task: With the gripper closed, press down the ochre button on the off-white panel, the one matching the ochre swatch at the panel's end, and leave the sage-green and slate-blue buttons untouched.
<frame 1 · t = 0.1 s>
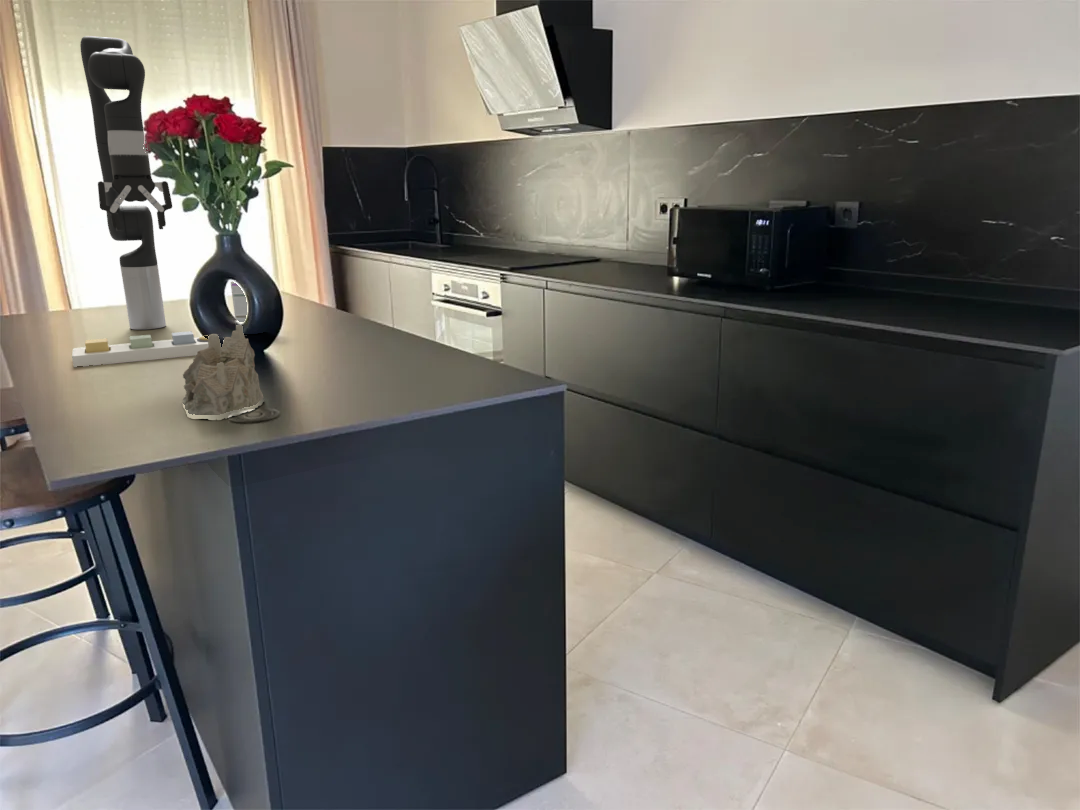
hand: (139, 229, 172), 29 cm above the countertop, tool pointing down, fingers open, 8 cm apart
slate button: (183, 339, 184), point 3 cm above the countertop, slide at 0.0 cm
ceramic cottage: (217, 408, 140), on the countertop
syrup box: (251, 334, 209), on the countertop
button panel: (152, 355, 182), on the countertop
ochre button: (97, 347, 176), point 3 cm above the countertop, slide at 0.0 cm
sage button: (141, 343, 180), point 3 cm above the countertop, slide at 0.0 cm
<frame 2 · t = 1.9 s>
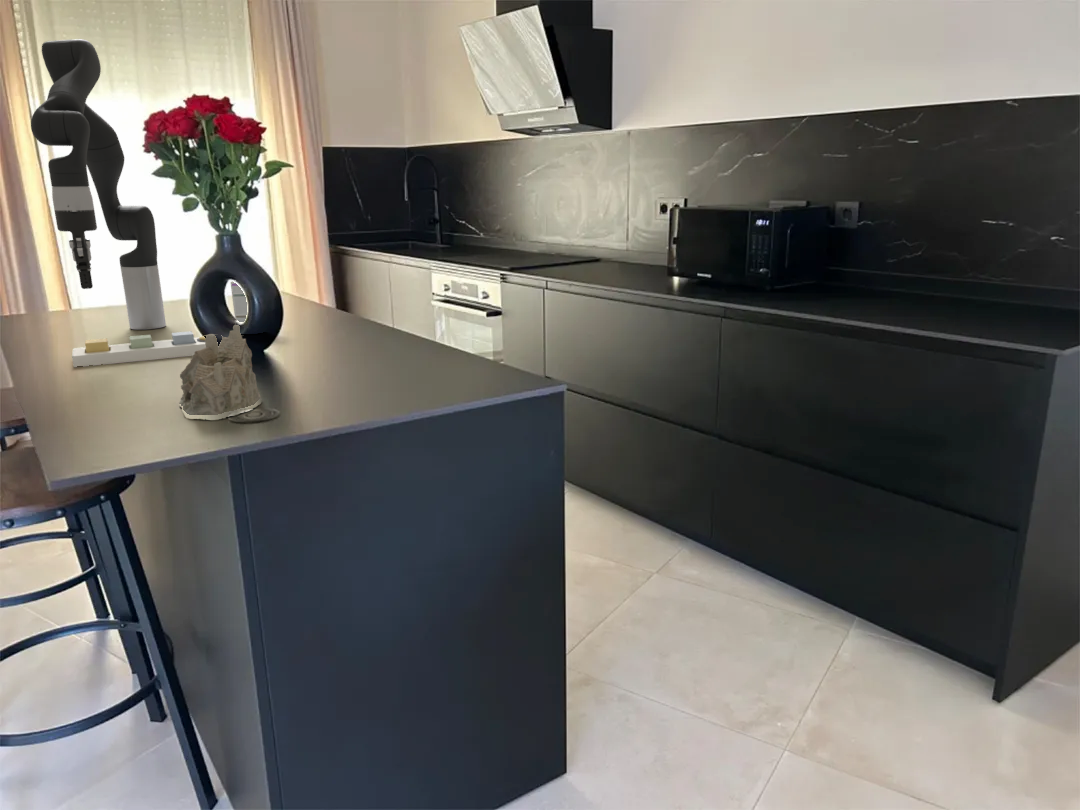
hand: (87, 288, 172), 17 cm above the countertop, tool pointing down, fingers closed
nothing on the countertop moved.
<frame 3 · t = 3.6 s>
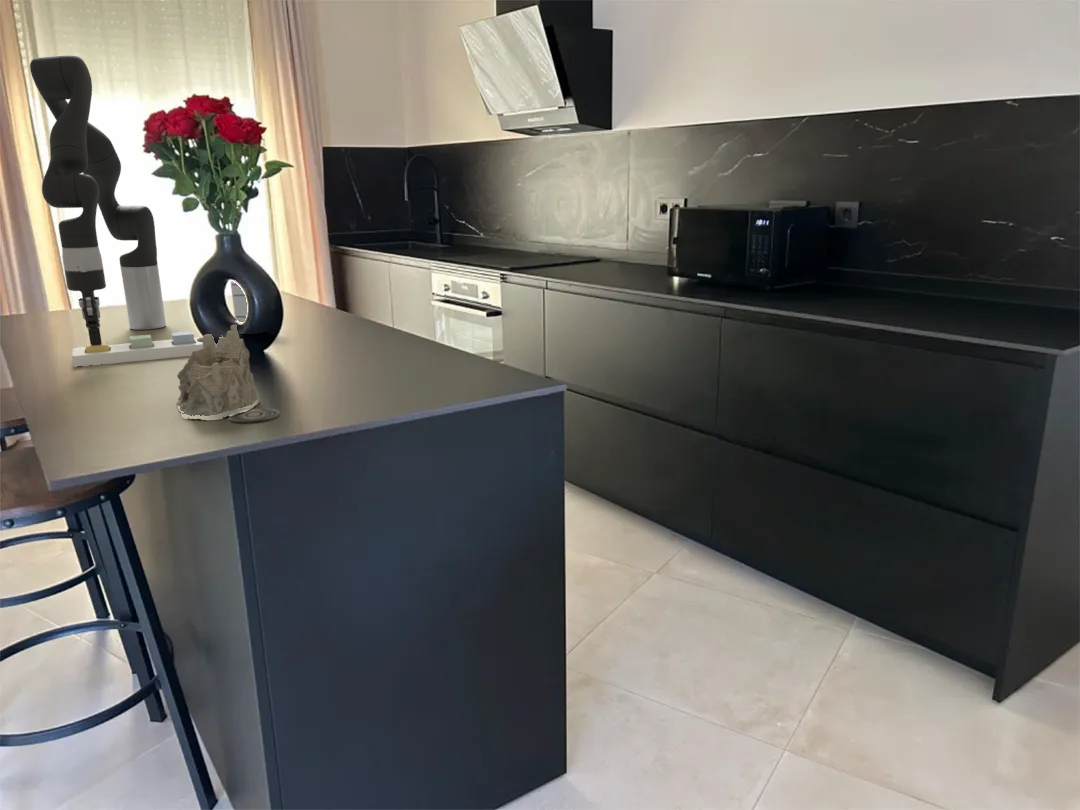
hand: (96, 344, 176), 4 cm above the countertop, tool pointing down, fingers closed
ochre button: (98, 350, 176), point 2 cm above the countertop, slide at 0.8 cm, touching gripper
everything else where it was.
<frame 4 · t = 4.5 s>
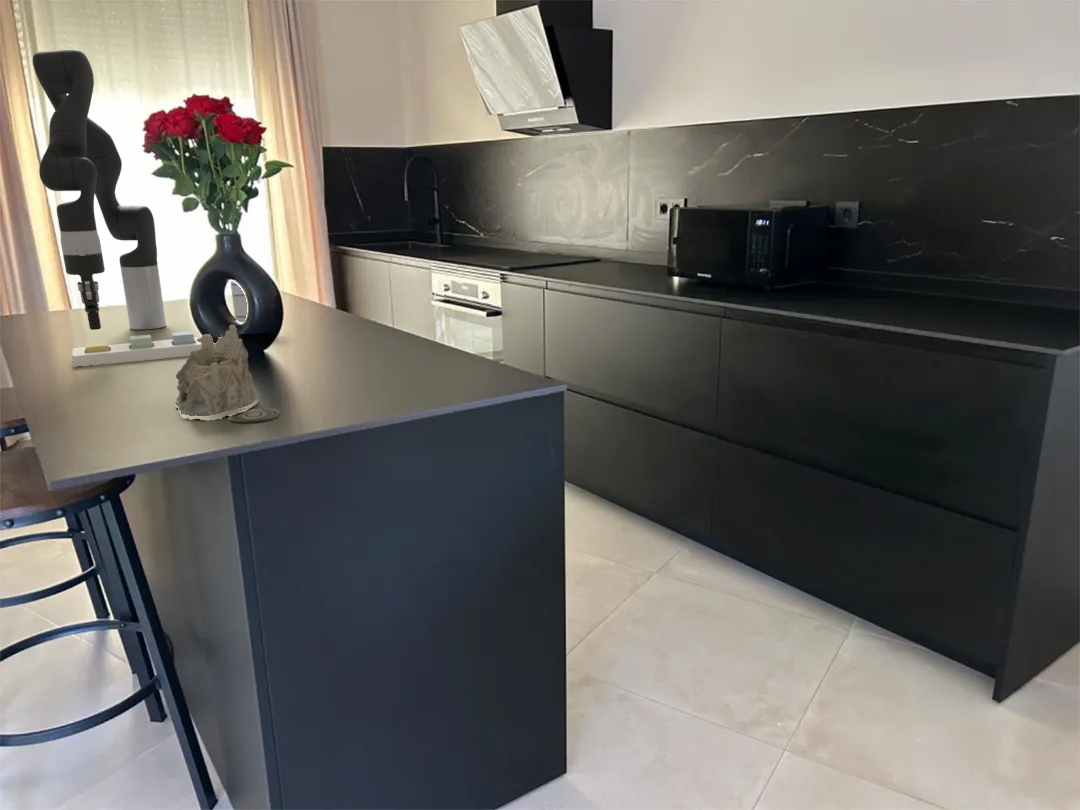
hand: (95, 328, 175), 7 cm above the countertop, tool pointing down, fingers closed
ochre button: (98, 351, 176), point 2 cm above the countertop, slide at 0.9 cm
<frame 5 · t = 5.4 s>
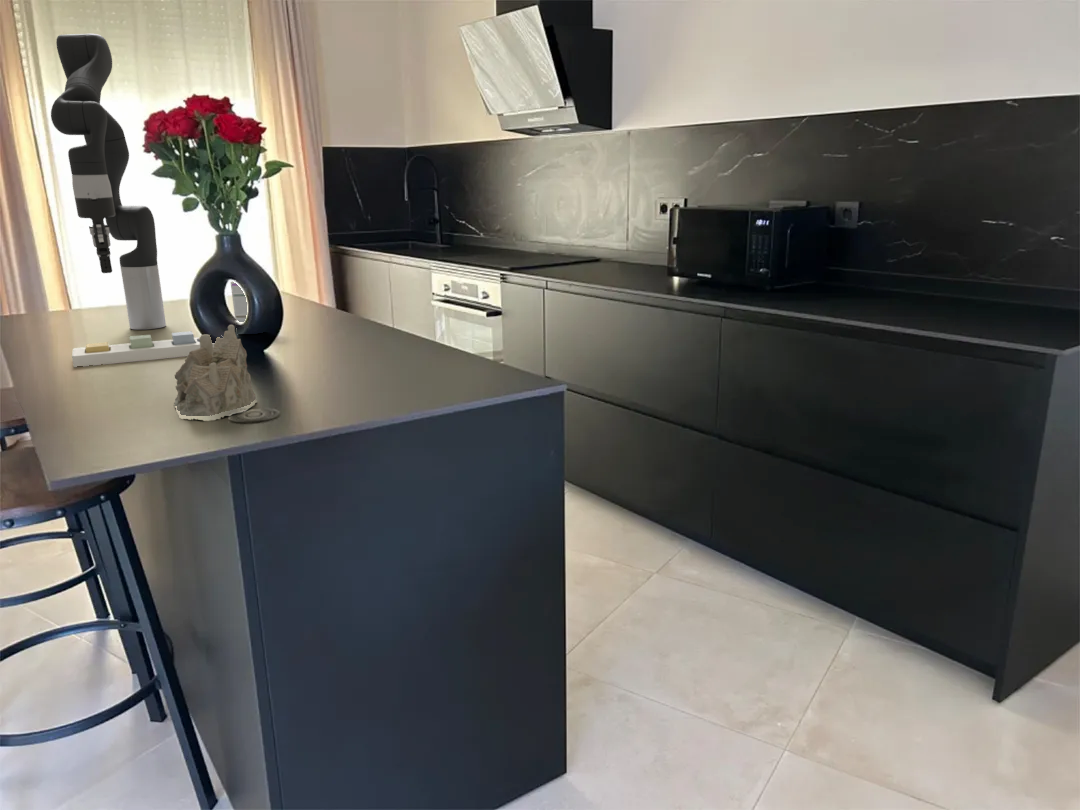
hand: (107, 272, 180), 19 cm above the countertop, tool pointing down, fingers closed
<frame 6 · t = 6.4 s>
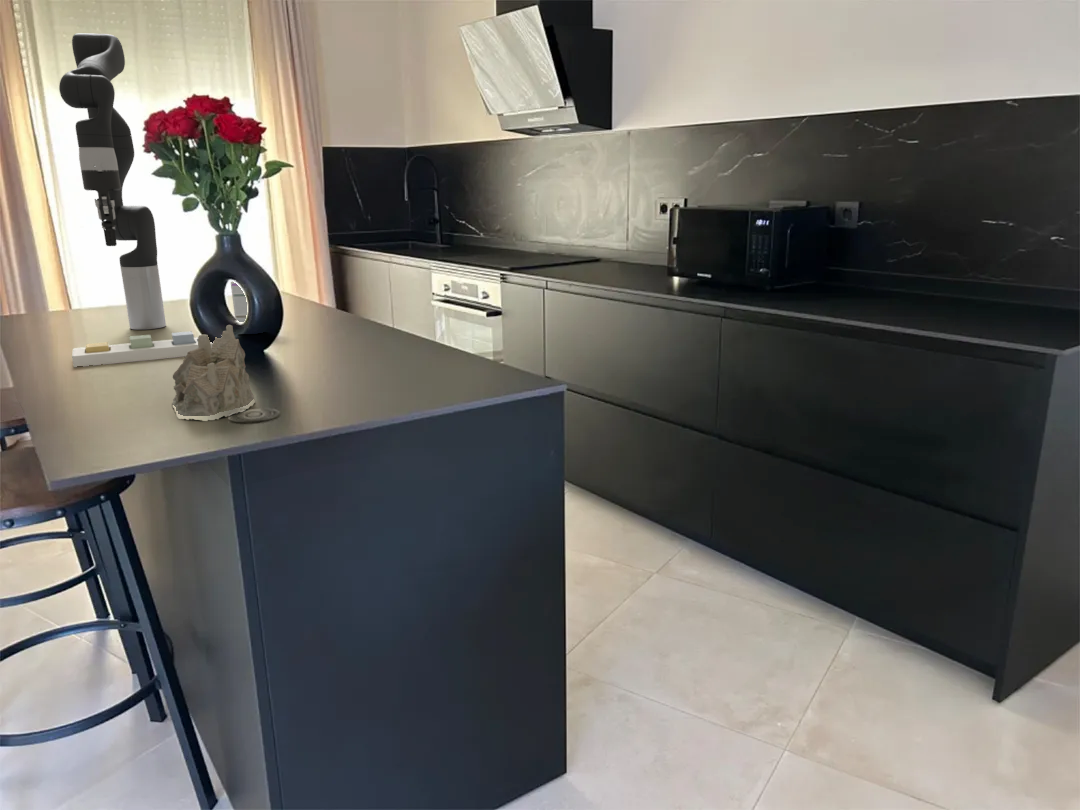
hand: (111, 245, 181), 25 cm above the countertop, tool pointing down, fingers closed
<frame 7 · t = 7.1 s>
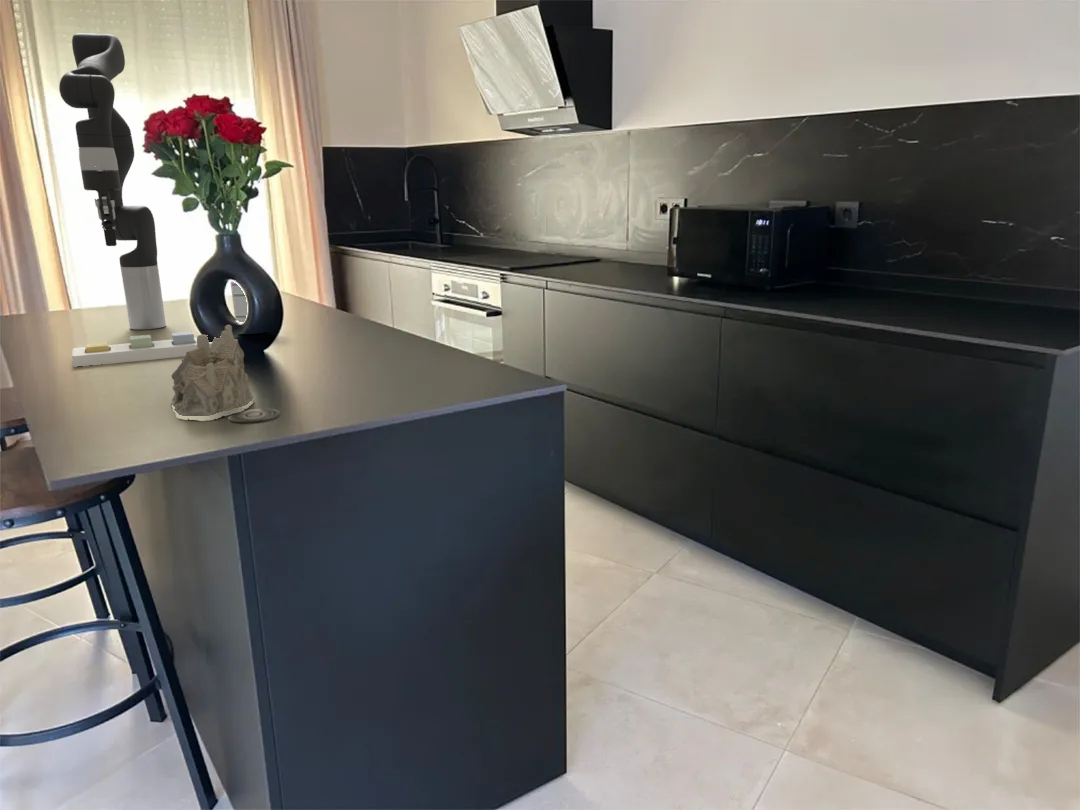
hand: (111, 245, 181), 25 cm above the countertop, tool pointing down, fingers closed
at the end: ochre button slide at 0.9 cm; sage button slide at 0.0 cm; slate button slide at 0.0 cm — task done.
